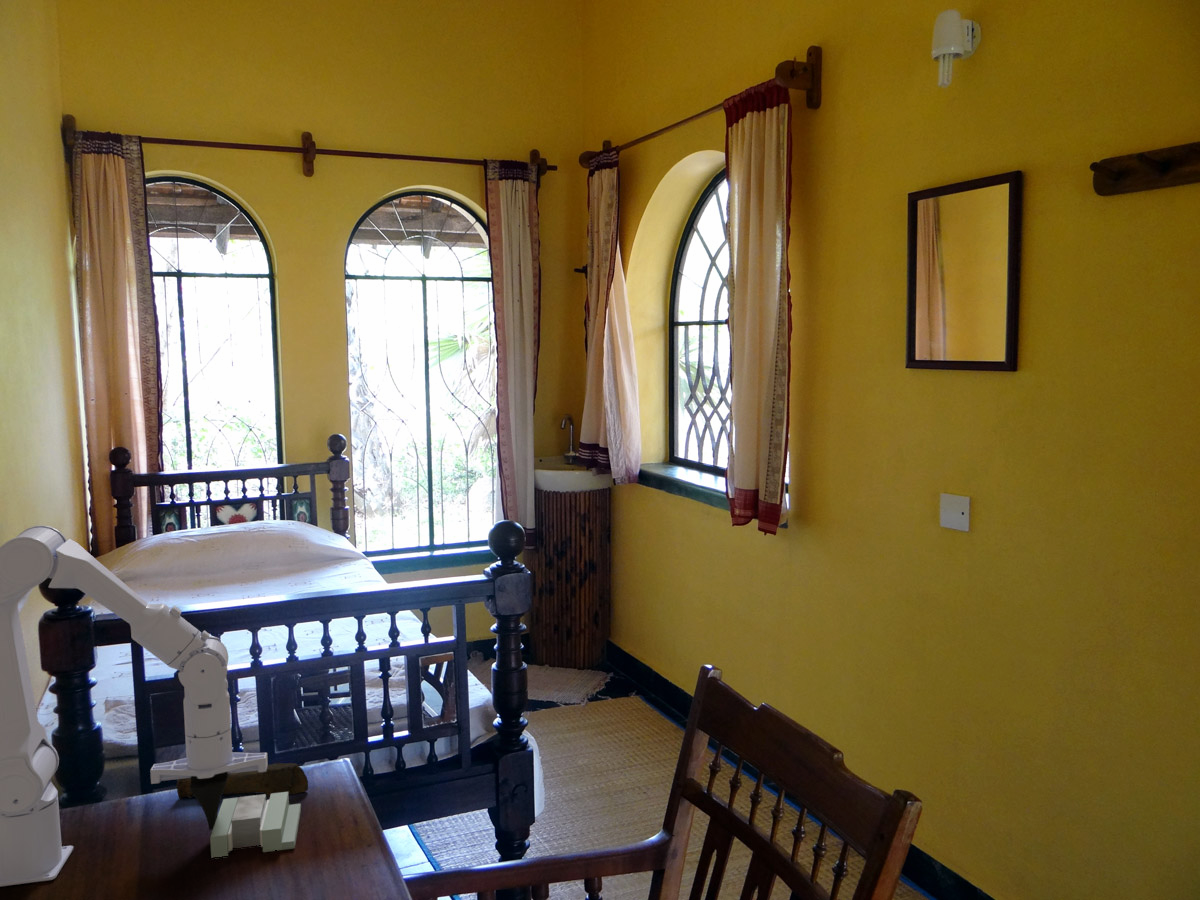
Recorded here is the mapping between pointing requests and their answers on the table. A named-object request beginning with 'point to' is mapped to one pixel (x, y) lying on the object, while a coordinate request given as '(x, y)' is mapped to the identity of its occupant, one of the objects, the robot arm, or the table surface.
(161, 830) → the table surface
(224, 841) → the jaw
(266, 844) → the pale green bar
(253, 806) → the block
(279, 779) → the brown wooden log
